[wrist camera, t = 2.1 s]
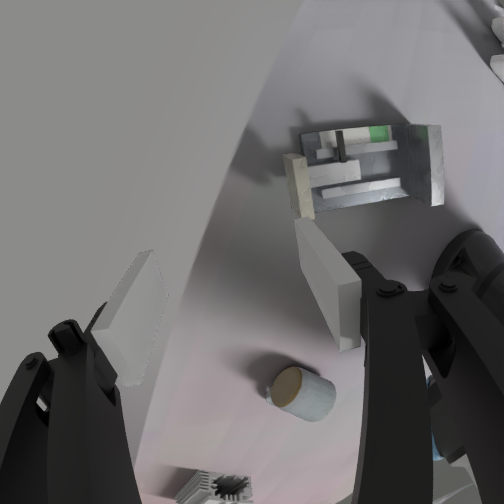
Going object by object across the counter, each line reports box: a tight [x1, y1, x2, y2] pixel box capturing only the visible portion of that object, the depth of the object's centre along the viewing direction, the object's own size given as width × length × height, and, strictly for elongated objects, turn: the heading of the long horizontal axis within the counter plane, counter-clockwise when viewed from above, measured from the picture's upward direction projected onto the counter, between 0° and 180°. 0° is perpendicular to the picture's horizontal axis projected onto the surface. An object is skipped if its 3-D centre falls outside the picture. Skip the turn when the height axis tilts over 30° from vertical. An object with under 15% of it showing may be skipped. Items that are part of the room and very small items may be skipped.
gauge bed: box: [299, 124, 444, 213], centre depth 29 cm, size 15×9×6 cm, turn 101°
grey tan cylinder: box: [266, 367, 336, 422], centre depth 42 cm, size 11×8×8 cm
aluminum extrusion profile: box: [174, 470, 253, 504], centre depth 60 cm, size 14×31×10 cm, turn 156°
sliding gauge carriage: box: [282, 130, 361, 220], centre depth 27 cm, size 8×7×6 cm
